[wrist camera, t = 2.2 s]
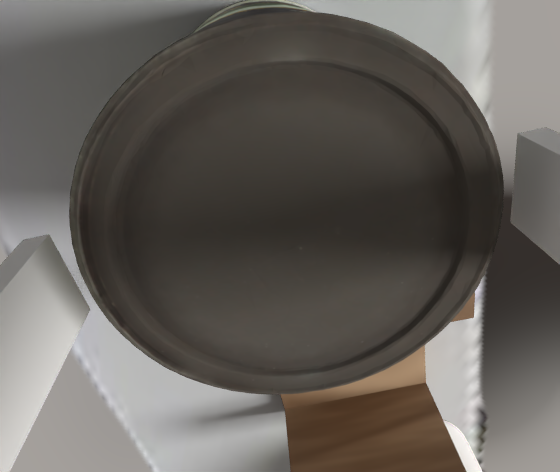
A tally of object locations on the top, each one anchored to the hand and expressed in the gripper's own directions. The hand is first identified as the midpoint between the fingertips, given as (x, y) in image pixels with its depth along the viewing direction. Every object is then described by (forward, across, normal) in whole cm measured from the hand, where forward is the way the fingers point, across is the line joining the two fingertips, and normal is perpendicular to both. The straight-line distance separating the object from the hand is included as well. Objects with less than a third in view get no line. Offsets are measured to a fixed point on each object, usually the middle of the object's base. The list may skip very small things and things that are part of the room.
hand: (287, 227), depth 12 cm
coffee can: (+12, 0, +1) cm, 12 cm away
